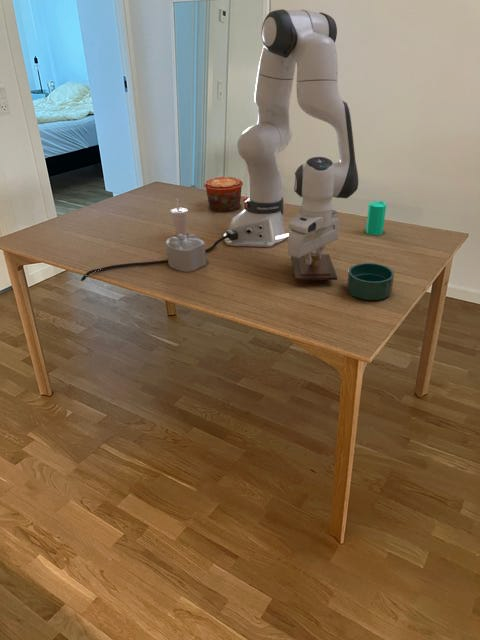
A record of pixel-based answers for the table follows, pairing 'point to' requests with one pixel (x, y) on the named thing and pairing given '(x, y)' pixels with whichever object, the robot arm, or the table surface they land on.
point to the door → (314, 268)
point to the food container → (224, 193)
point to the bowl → (370, 281)
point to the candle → (376, 218)
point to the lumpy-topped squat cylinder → (185, 252)
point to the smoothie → (179, 219)
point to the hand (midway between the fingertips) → (313, 261)
